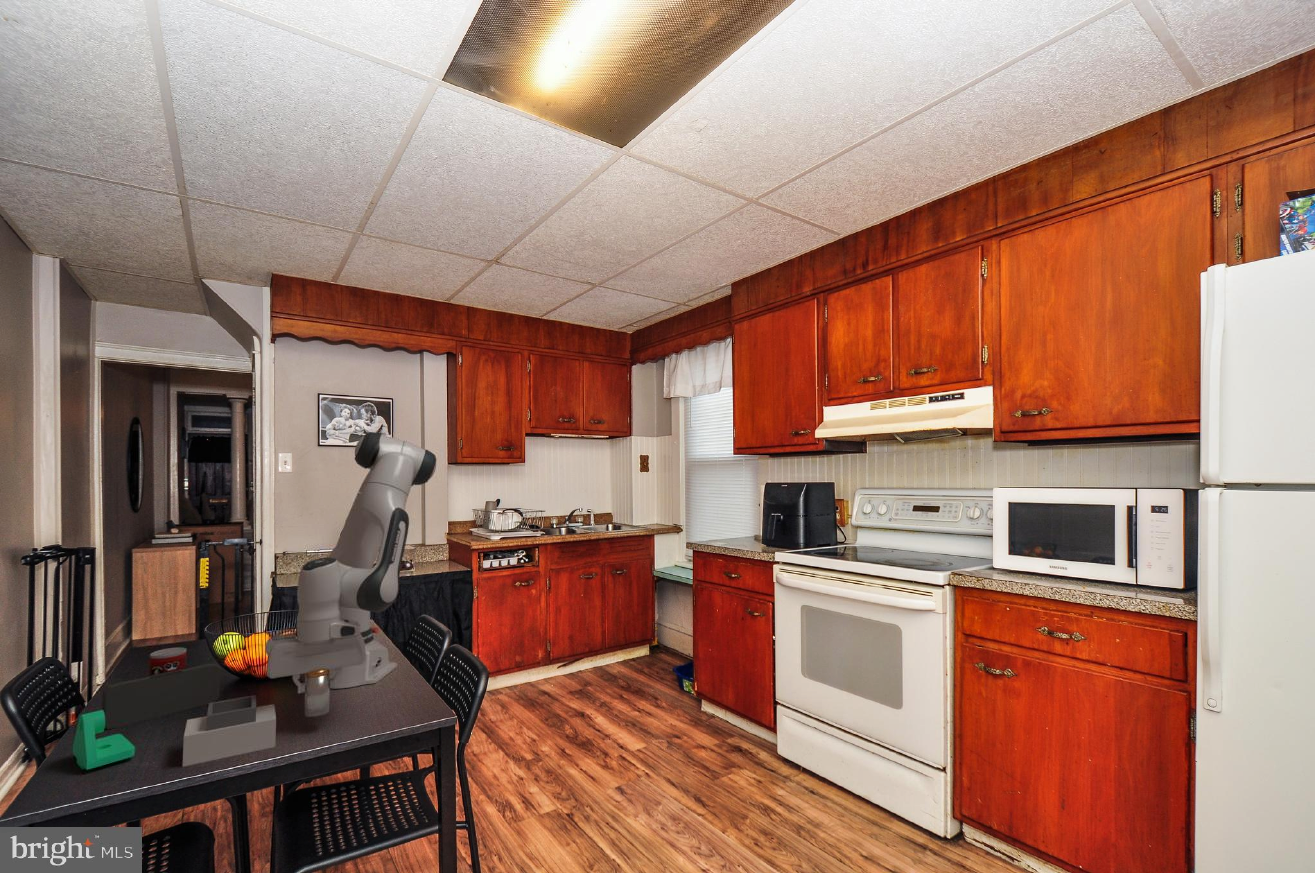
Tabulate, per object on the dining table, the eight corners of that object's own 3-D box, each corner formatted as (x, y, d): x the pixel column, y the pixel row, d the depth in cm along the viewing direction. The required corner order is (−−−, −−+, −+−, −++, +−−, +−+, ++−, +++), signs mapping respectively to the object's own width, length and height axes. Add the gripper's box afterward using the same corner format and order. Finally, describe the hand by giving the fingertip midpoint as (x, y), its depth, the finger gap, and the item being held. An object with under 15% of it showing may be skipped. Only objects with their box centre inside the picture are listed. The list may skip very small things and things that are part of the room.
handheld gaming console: (215, 699, 161) (217, 660, 162) (219, 702, 160) (220, 662, 160) (99, 728, 143) (102, 685, 144) (102, 732, 142) (104, 687, 142)
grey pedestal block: (182, 766, 125) (184, 721, 125) (186, 748, 133) (188, 705, 134) (275, 746, 134) (276, 704, 134) (273, 730, 142) (274, 690, 143)
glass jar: (316, 707, 146) (317, 664, 146) (334, 709, 145) (334, 665, 145) (299, 715, 141) (300, 671, 141) (317, 717, 140) (318, 672, 140)
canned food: (140, 698, 162) (142, 656, 162) (163, 687, 170) (165, 647, 170) (170, 698, 162) (171, 655, 162) (192, 687, 170) (193, 647, 170)
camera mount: (135, 760, 128) (137, 710, 128) (86, 775, 122) (88, 722, 122) (119, 745, 135) (121, 697, 136) (72, 758, 129) (74, 708, 130)
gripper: (265, 639, 136) (264, 703, 135) (367, 626, 146) (366, 685, 146) (266, 632, 141) (264, 694, 140) (364, 620, 152) (363, 677, 151)
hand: (317, 689), depth 143 cm, fingers closed on glass jar, 5 cm apart
